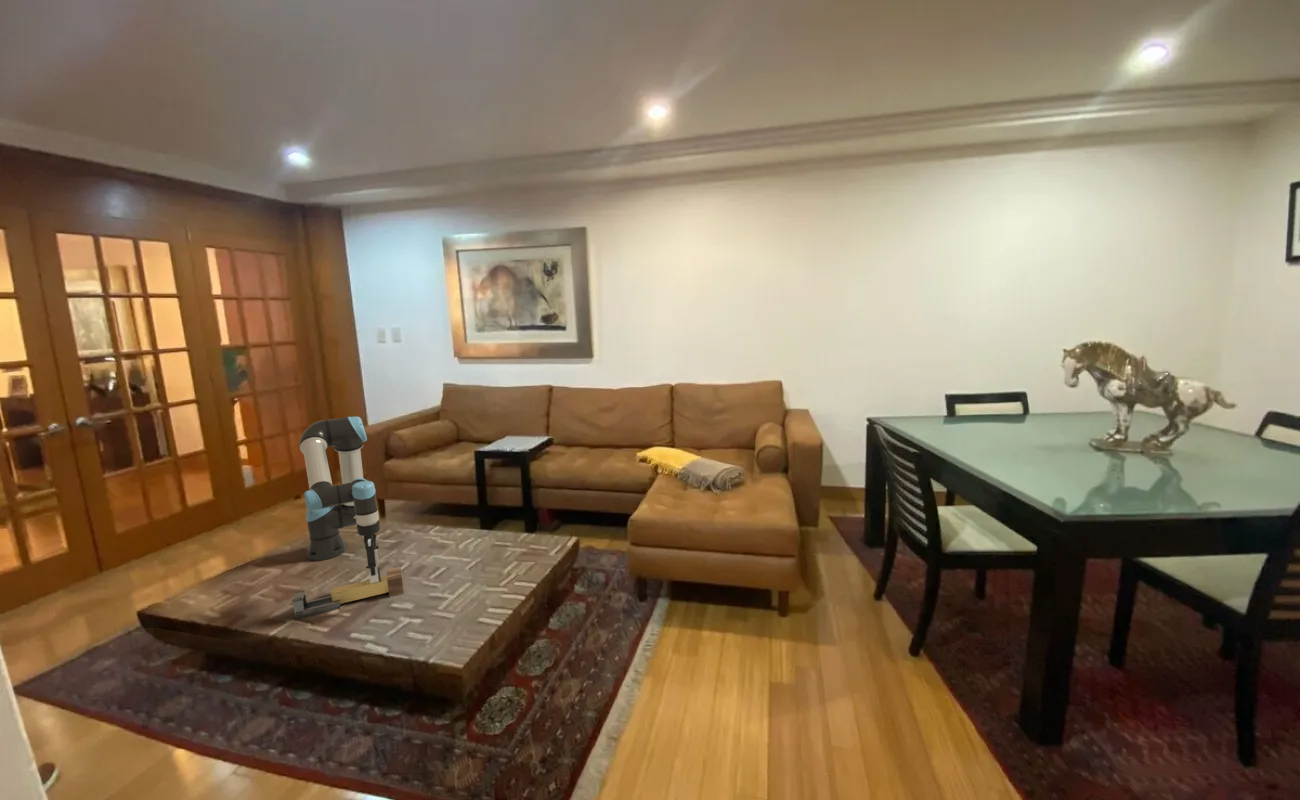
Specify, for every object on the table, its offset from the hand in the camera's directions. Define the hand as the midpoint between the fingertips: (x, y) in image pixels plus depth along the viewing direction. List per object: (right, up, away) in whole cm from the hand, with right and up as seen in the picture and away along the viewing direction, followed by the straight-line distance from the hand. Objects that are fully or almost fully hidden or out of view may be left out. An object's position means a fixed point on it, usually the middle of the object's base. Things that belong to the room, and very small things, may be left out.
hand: (374, 573), depth 202 cm
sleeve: (-17, -11, -7) cm, 21 cm away
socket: (+6, -8, +4) cm, 11 cm away
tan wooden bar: (-3, -8, -1) cm, 8 cm away
